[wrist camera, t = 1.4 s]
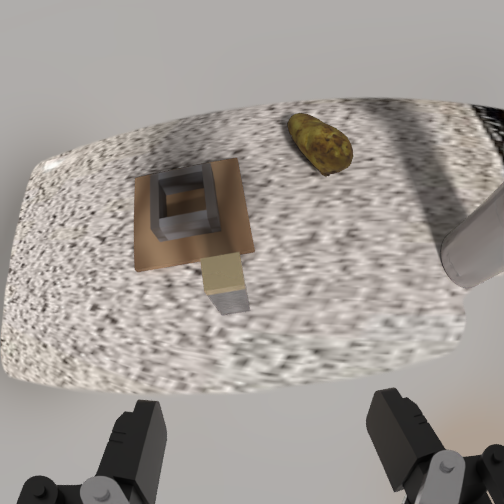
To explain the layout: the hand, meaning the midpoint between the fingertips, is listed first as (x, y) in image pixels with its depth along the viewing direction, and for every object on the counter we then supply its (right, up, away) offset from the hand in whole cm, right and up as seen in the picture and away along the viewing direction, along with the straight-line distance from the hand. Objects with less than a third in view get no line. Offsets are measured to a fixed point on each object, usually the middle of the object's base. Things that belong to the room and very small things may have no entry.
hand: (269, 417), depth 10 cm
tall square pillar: (-3, 0, +28) cm, 28 cm away
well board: (-9, +11, +32) cm, 36 cm away
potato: (+9, +21, +36) cm, 43 cm away
